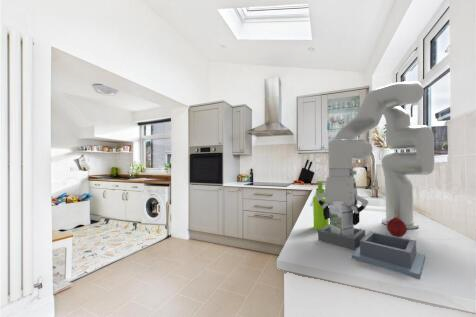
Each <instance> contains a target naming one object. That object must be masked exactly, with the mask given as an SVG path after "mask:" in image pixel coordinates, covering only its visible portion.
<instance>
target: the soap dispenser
mask: <svg viewBox="0 0 476 317" xmlns="http://www.w3.org/2000/svg"><path fill="white" fill-rule="evenodd" d="M316 183H317V188H315V193H316V194H315V196H313V197H312V201H313V202H312V204H313V207H312V208H313V229H315V230H316V231H318V230H320V229H322V228H324V227H325V226H327V225H329V224H330V218H329V219H324V216H323V208H322V206H321V205H320V203H319V201H318V199H317V197H316V196H317V195H319V194H322V193H324V192H325V188H324V187H323V184H326V180H317V181H316ZM322 200H323V201H324V202H325V196H323V197H322Z"/></svg>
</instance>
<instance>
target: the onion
mask: <svg viewBox="0 0 476 317" xmlns="http://www.w3.org/2000/svg"><path fill="white" fill-rule="evenodd" d="M386 230H387V231H388V233H389V234H391V236H396V237H401V238H402V237H403V236H404V235H406V233H407V230H408V229H407V227H406V225H405V223H404V222H403V221H402V220H400V219H399V218H398V217H397V216H395V217H394V218H393V219H391V220H390V221H389V222H388V223H387V225H386Z"/></svg>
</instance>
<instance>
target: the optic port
mask: <svg viewBox="0 0 476 317" xmlns="http://www.w3.org/2000/svg"><path fill="white" fill-rule="evenodd" d="M350 256H351V257H350V258H351V259H353V260H357V261H360V262H362V263H365V264H369V265H373V266H376V267H380V268H384V269H387V270H390V271H393V272H395V273H400V274H403V275H405V276H409V277H414V278H415V279H416V278H417V279H421V275H422V272H423V267H424V263H425V259H426V254H425V253H421V252H417V240H415V239H410V238H405V237H402V236H401V237H396V236H393V235H392V234H391V235H390V234H386V233H380V232H375V231H369V232H368V233H367V234H365V237H364V238H362V239H361V240H360V246H359V247H358V248H356V249H355V250H354V252H352V253H351V255H350Z"/></svg>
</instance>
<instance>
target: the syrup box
mask: <svg viewBox="0 0 476 317" xmlns="http://www.w3.org/2000/svg"><path fill="white" fill-rule="evenodd" d="M328 208H329V213H330V218H329V224H330V232H331V233H336V234H340V235H344V236H349V237H352V236H354V228H355V227H354V226H355V225H353V213H354V211H353V210H352V209H351V207H346V206H345V203H344V202H342V201H335V202H334V201H333V204H329V206H328Z"/></svg>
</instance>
